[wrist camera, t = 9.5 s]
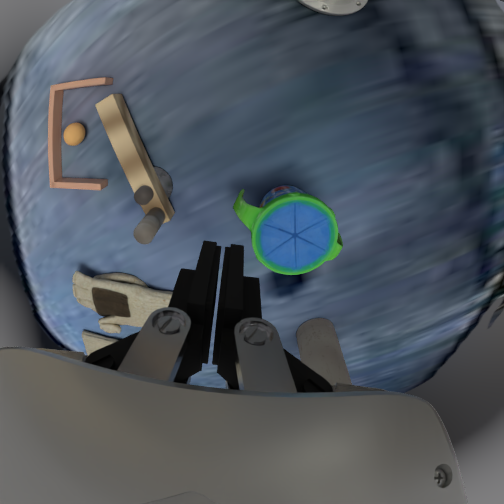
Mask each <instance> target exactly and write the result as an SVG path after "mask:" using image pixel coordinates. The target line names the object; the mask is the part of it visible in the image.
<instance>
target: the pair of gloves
mask: <svg viewBox="0 0 504 504" xmlns="http://www.w3.org/2000/svg"><path fill="white" fill-rule="evenodd" d="M72 281H73V283H75V284H73V293H74V297H76V298H77V301H78V303H80V304H82V305H83V306H85V307H88V308H91V309H92V310H94V311H95V312H97V313H98V314H99V315H101V316H104V318H101V319H99V321H98V322H99V324H100V328H101V329H103V330H104V331H106V332H108V333H115V332H116V333H120V332H121V327H120V326H119V325H131V326H136V327H143V325H144V324H145V322H146V320H147V319H148V317H149V316H150V314H151V313H152V312H154V311H155V310H157V309H160V308H164V307H168V305H169V302H170V299H171V296H172V293H173V292H171V291H160V290H153V289H151V288H148V286H147V285H146V284H145V283H144V282H143V281H141V280H140V279H138V278H137V277H135V276H133V275H129V274H125V273H110V274H103V275H96V276H94V278H91V277H89V276H86V275H84V274H82V273H81V272H79V271H75V274H74V275H73V280H72ZM82 338H83V341H84V345H85V348H86V352H87V354H88V355H90V354H91V353H92V352H94V351H96V350H98V349H100V348H103V347H105V346H107V345H110V344H112V343H114V342H117V341H119V340H117V339H113V338H107V337H105V336H102V335H98V334H95V333H92V332H89V331H86V330H84V331H83V333H82Z"/></svg>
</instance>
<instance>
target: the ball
mask: <svg viewBox="0 0 504 504" xmlns="http://www.w3.org/2000/svg"><path fill="white" fill-rule="evenodd" d="M84 137H85V128H84V126H83V125H82V124H80V123H72V124H70V125H69V126H67V128H66V129H65V131H64V140H65V142H66V143H67V144H68V145H71V146H75V145H78V144H79V143H81V142H82V141H83V139H84Z"/></svg>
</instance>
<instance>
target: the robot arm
mask: <svg viewBox="0 0 504 504" xmlns="http://www.w3.org/2000/svg"><path fill="white" fill-rule="evenodd" d="M297 1H299V2H300V3H301V4H303V5H304V6H306V7H308V8H310V9H312V10H314V11H316V12H320V13H323V14H327V15H334V16H343V15H349V14H352V13H355V12H357V11H358V10H360V9H361V8H363V7H364V6H365V4H366V3H367V1H368V0H297ZM500 1H503V2H504V0H500ZM356 4H357V5H358V6H357V5H356ZM322 8H324V9H325V10H324V9H322ZM216 245H217V242H211V241H204V242H203V245H202V249H201V252H200V256H199V259H198V263H197V267H196V270H190V269H181V270H180V273H179V276H178V278H177V281H176V284H175V287H174V290H173V293H172V296H171V299H170V302H169V305H168V307H164V308H160V309H157V310H155V311H154V312H152V313H151V314H150V316H149V317H148V319H147V320H146V322H145V324H144V325H143V327H142V329H141V330H140V331H139V332H137V333H135V334H133V335H130V336H128V337H126V338H124V339H121V340H119V341H117V342H114V343H112V344H110V345H107V346H105V347H103V348H100V349H98V350H96V351H94V352H92V353H91V354H90V355H85V354H84V352H74V351H62V350H51V349H42V348H40V349H34V348H27V347H3V348H0V504H468V501H467V496H466V492H465V487H464V483H463V479H462V476H461V472H460V468H459V465H458V461H457V458H456V455H455V452H454V449H453V446H452V444H451V441H450V438H449V436H448V433H447V431H446V429H445V427H444V424H443V422H442V421H441V418H440V417H439V415H438V413H437V412H436V410H435V409H434V408H433V407H432V406H431V405H430V404H429V403H428V402H427V401H425V400H423V399H421V398H418V397H416V396H412V395H408V394H404V393H398V392H390V391H386V390H383V389H377V388H369V387H362V386H355V385H348V384H342V383H336V384H335V385H331V384H330V383H329V382H328V381H327V380H326V379H325V378H323V377H322V376H321V375H319V374H318V373H316V372H315V371H314V370H312V369H311V368H309V367H308V366H307V365H305V364H304V363H302V362H301V361H300V360H298V359H297V358H296V357H294V356H293V355H292V354H290V353H289V352H287V351H286V350H285V349H283V347H282V344H281V341H280V337H279V334H278V332H277V330H276V328H275V327H274V326H273V325H272V324H271V323H270V322H268V321H266V320H264V319H262V313H261V298H260V284H259V278H254V277H246V276H243V267H244V246H242V245H235V244H231V247H225V254H224V261H223V269H222V277H221V285H220V293H219V302H218V311H217V320H216V330H215V340H214V351H213V361H212V364H214V365H218V368H217V373H218V374H219V375H221V376H222V377H223V378H224V379H225V380H226V389H221V388H212V387H204V386H196V385H189V384H190V381H191V376H192V375H194V374H195V373H197V372H199V371H201V370H202V363H206V364H208V357H209V348H210V340H211V332H212V324H213V316H214V308H215V300H216V290H217V281H218V272H219V262H220V254H221V246H216Z"/></svg>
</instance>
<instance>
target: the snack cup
mask: <svg viewBox="0 0 504 504" xmlns="http://www.w3.org/2000/svg"><path fill="white" fill-rule="evenodd" d="M244 191H245V190H244V189H242V190H241V191H240V193H239V195H238V197H237V199H236V202H235V203H234V206H233V209H234V210H235V212H236V214H237V215H238V217H239V219H240V220H241V221H242V222H243V223H244V224H245V225H246V226H247V227H248V228H249V230H250V231H251V239H252V246H253V249H254V252H255V254H256V258H257V259H258V260H259V261H260V262H261V263H262V264H263V265H264V266H266V267H267V268H269V269H270V270H272V271H274V272H277V273H281V274H286V275H297V274H302V273H306V272H309V271H311V270H314V269H315V268H317V267H319V266H320V265H322V264H323V263H324V262H325V261H328V260H333V259H334V258H335V257H336V256H337V255H338V254H339V252H340V251H341V249H342V247H343V243H342V239H341V236H340V234H339V233H338V225H337V222H336V219H335V214H334V212H333V211H332V209H331V208H329V207H328V206H327V205H326V204H325V203H324V202H322V201H321V200H320V199H318V198H316V197H314V196H312V195H309V194H307V193H305V192H304V191H302V190H300V189H299V188H296V187H294V186H290V185H283V186H279V187H276V188H274V189H272V190H271V191H269V192H268V193H267V194H266V195H265V196H264V197H263V199H262V201H261V204H260V207H259V208H258V207H255V206H252V205H250V204H247V203H246V202H245V200H244V199H243V194H244Z"/></svg>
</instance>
